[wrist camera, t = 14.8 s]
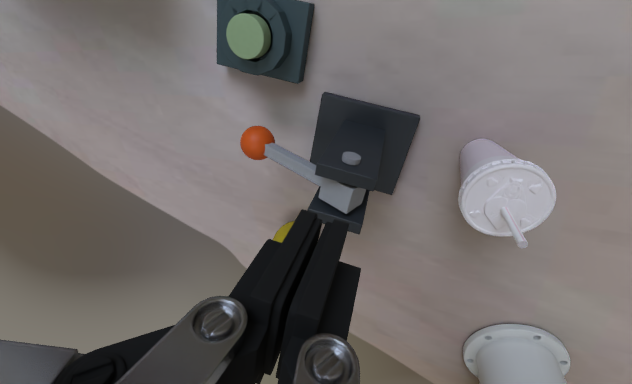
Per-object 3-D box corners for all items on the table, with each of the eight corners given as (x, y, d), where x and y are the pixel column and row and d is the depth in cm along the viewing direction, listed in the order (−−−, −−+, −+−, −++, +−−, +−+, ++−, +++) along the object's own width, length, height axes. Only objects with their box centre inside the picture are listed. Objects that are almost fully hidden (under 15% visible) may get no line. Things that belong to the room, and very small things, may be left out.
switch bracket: (310, 167, 36) (270, 227, 26) (324, 91, 32) (283, 126, 21) (392, 190, 35) (386, 264, 24) (419, 115, 31) (428, 164, 20)
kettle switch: (257, 148, 32) (232, 155, 29) (260, 118, 30) (233, 123, 28) (362, 206, 26) (341, 221, 23) (373, 173, 24) (351, 185, 22)
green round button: (273, 18, 27) (265, 18, 25) (269, 61, 29) (262, 63, 27) (236, 10, 27) (226, 9, 26) (234, 53, 29) (225, 54, 28)
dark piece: (314, 4, 28) (304, 1, 25) (303, 81, 32) (292, 87, 29) (226, -15, 29) (206, -19, 26) (224, 62, 33) (206, 65, 30)
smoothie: (438, 178, 33) (458, 265, 21) (454, 121, 30) (487, 184, 18) (502, 188, 32) (560, 285, 20) (526, 129, 29) (612, 202, 17)
